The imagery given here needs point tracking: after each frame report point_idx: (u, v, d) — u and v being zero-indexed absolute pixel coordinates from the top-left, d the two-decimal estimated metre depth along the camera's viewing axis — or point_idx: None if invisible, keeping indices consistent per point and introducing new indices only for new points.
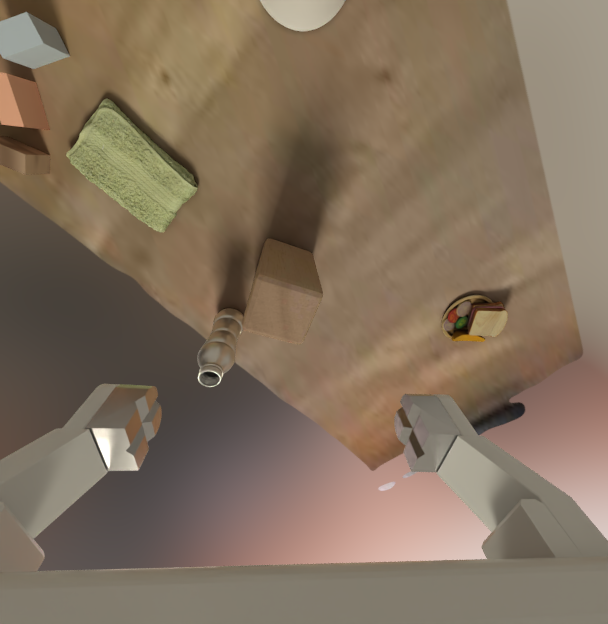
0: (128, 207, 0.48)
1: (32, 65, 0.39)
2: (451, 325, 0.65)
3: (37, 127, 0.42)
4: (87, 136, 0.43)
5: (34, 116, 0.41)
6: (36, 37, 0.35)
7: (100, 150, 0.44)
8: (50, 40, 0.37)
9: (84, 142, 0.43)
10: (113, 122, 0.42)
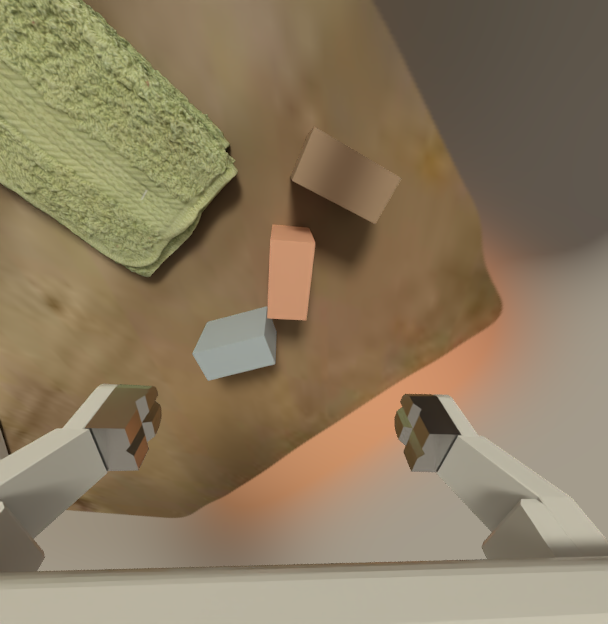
0: (61, 7, 0.14)
1: (259, 313, 0.25)
2: None
3: (271, 233, 0.20)
4: (179, 216, 0.20)
5: None
6: (201, 358, 0.22)
7: (150, 187, 0.19)
8: None
9: (186, 203, 0.19)
10: (118, 244, 0.20)
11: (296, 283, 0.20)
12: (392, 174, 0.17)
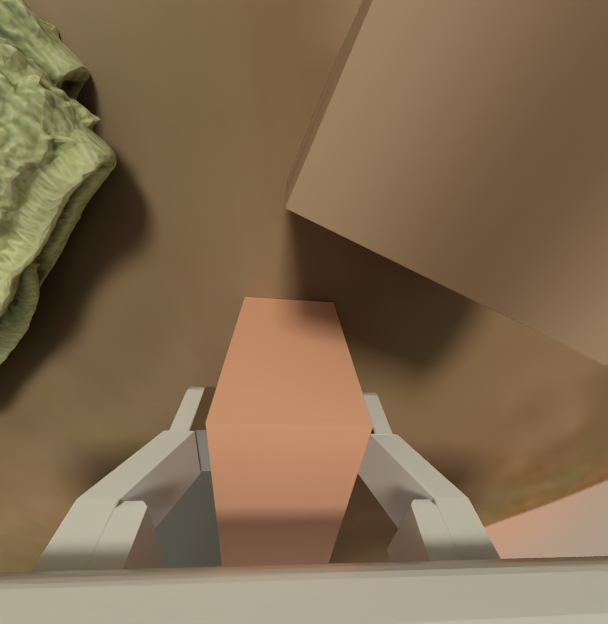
0: None
1: None
2: None
3: (232, 344, 0.07)
4: None
5: None
6: None
7: None
8: None
9: None
10: None
11: (304, 511, 0.06)
12: None
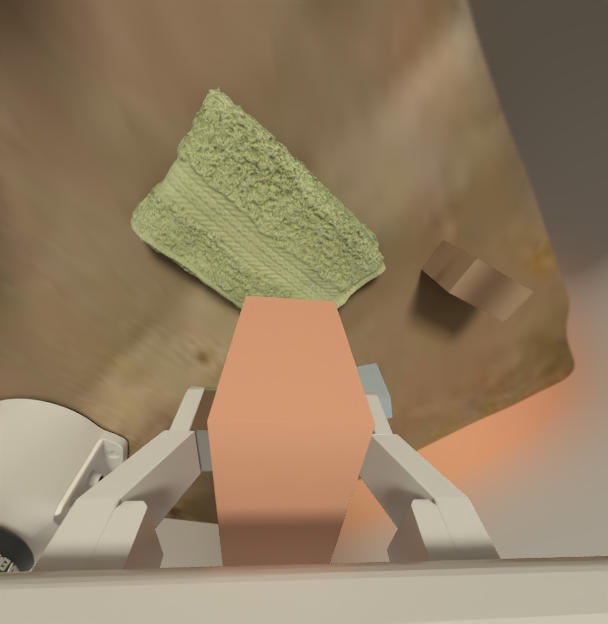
0: (287, 168, 0.18)
1: (372, 370, 0.30)
2: None
3: (233, 343, 0.07)
4: (333, 300, 0.24)
5: None
6: None
7: (317, 282, 0.23)
8: None
9: (341, 291, 0.24)
10: None
11: (305, 511, 0.06)
12: (527, 289, 0.21)
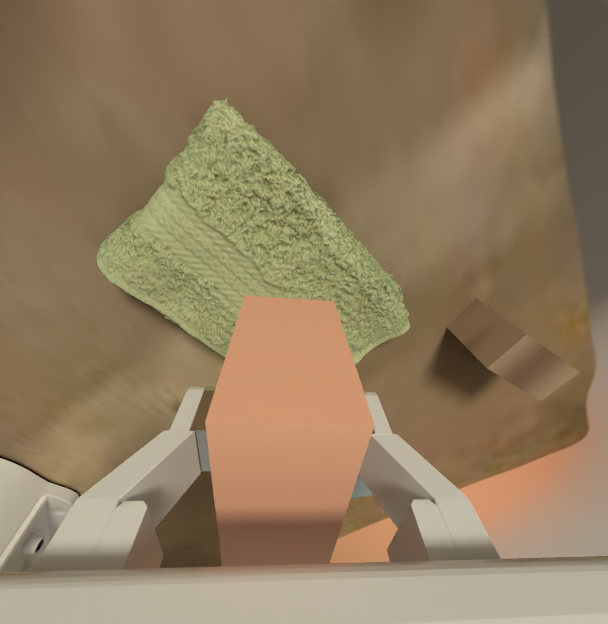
0: (306, 208, 0.14)
1: None
2: None
3: (232, 343, 0.07)
4: None
5: None
6: None
7: None
8: None
9: (356, 349, 0.20)
10: None
11: (304, 511, 0.06)
12: (573, 369, 0.18)
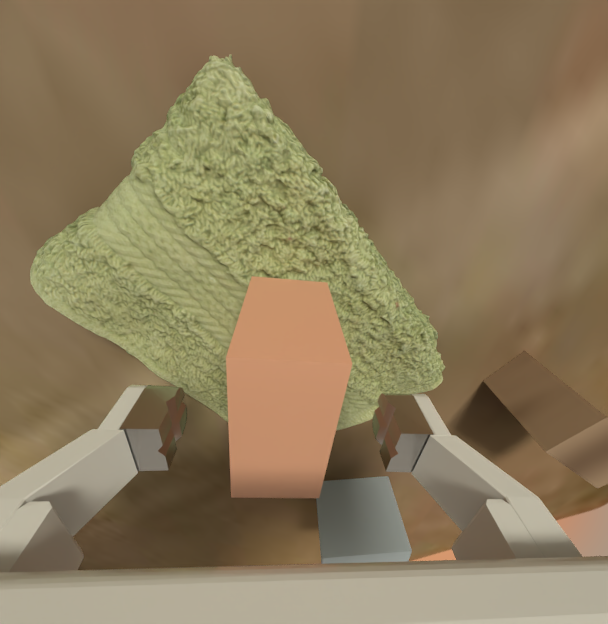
0: (333, 226, 0.10)
1: (382, 489, 0.22)
2: None
3: (242, 310, 0.09)
4: (358, 413, 0.16)
5: None
6: (329, 561, 0.18)
7: None
8: (319, 529, 0.20)
9: (373, 404, 0.16)
10: None
11: (299, 442, 0.08)
12: None
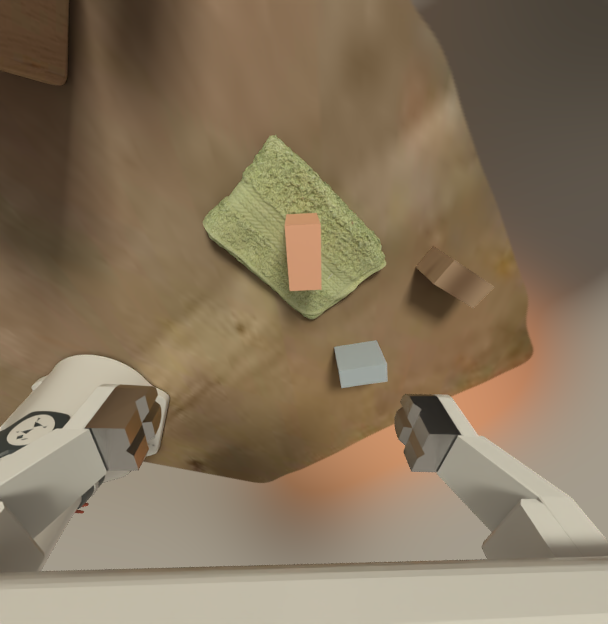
0: (319, 190, 0.26)
1: (373, 345, 0.37)
2: None
3: (285, 221, 0.25)
4: (346, 287, 0.32)
5: None
6: (343, 374, 0.35)
7: (335, 272, 0.31)
8: (337, 365, 0.36)
9: (352, 280, 0.32)
10: (306, 303, 0.33)
11: (309, 259, 0.24)
12: (490, 284, 0.29)
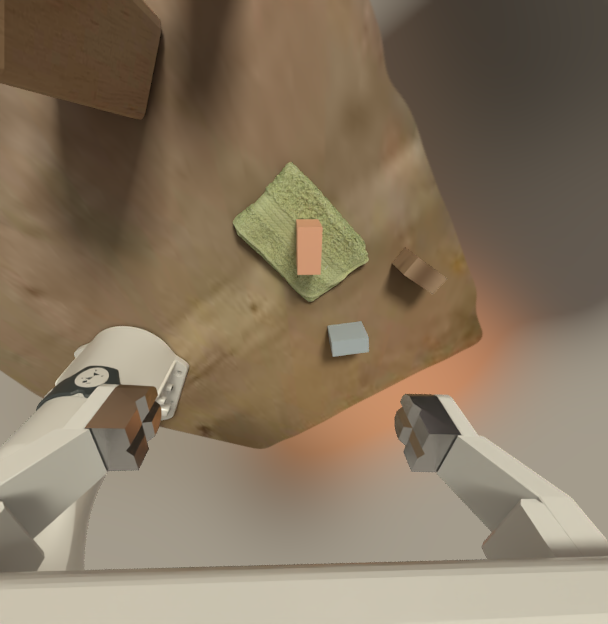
0: (321, 203, 0.36)
1: (358, 324, 0.47)
2: None
3: (296, 224, 0.35)
4: (338, 276, 0.42)
5: None
6: (334, 345, 0.44)
7: (330, 264, 0.41)
8: (330, 339, 0.46)
9: (343, 271, 0.42)
10: (307, 287, 0.42)
11: (313, 252, 0.34)
12: (444, 276, 0.39)
